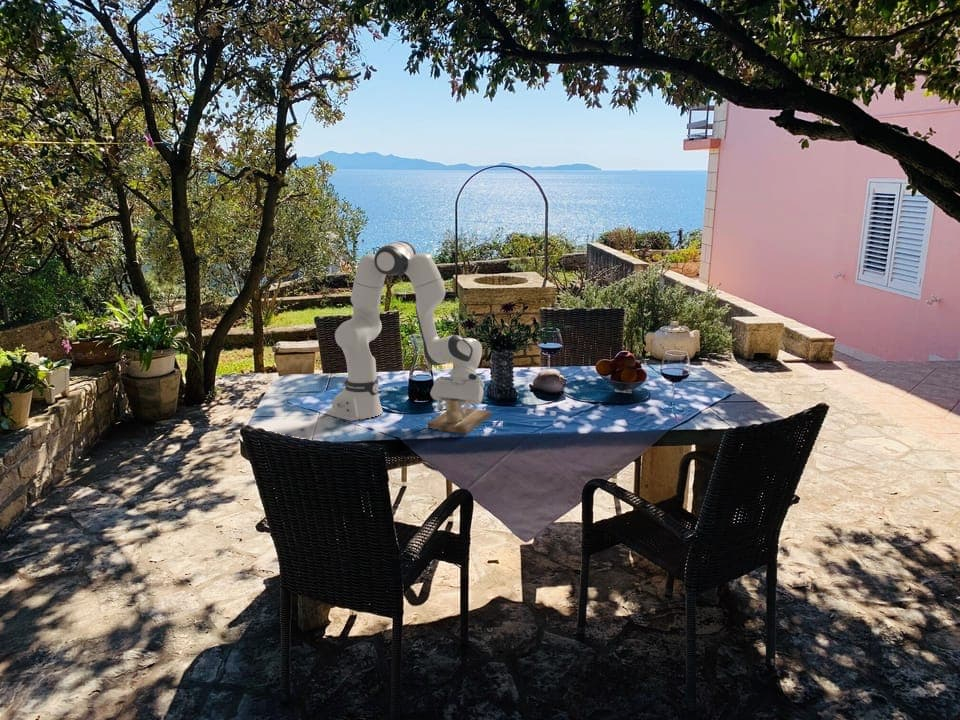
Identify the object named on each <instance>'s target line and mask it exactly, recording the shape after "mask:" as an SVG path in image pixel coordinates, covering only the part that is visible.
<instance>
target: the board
mask: <svg viewBox="0 0 960 720" xmlns="http://www.w3.org/2000/svg"><path fill="white" fill-rule="evenodd" d="M491 415H492V413H491V410H483V409H478V408H477V409H476V408H471V407H469V408H468V409H467V410H466V412H465V414H463V413H462V420H463V421H460V422H458V423H453V422H447V419H446V411H444V412H443V413H441V414H440V415H437V416H436V417H435V418H434V419H432V420H430V421H429V422H428V423H427V429H428V428H432V429H431V430H435V429H438V430H437V431H443V432H451V433H456V434H464V435H467V434H468V433H470V432H471V431H472V430H474V429H475V428H477V427H478V426H479V425H481V424H483V423H484V421H486V420H488V419H489V418H490V417H491Z"/></svg>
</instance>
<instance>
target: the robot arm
mask: <svg viewBox="0 0 960 720" xmlns="http://www.w3.org/2000/svg"><path fill="white" fill-rule="evenodd" d="M404 274H405V275H406V276H407V277H408V278H409V280H410V282H411V285H412V288H413V291H414V295H415V306H414V307H415V308H414V309H415V314H416V318H417V319H416V320H417V323H418V327H419V331H420V334H421V335H420V336H421V339H422V343H423V344H422V345H423V353H424V358H425V359H426V361H427V362H428V363H429V364H430V365H432V366H436V367H437V366H442V365H444V364H447V363H452V364H453V367H452V371H451V373H450V375H449V376H443V375H442V376H439V377H438V378H436V379H435V381H434V384H433V386H432V387H431V390H430V392H429V393H430V397H431V398H432V399H433V400H436V402H437V406H436V409H437V411H441V412H442V411H443V409H444V406H443V405H442V403H443V401H444V402H446V401H447V400H448V399H459V400H461V404H464V406H463V407H461V408H460V413H463V414H465V412H466V410H467V409H468V408H471V405H476V406H477V405H480V404H481V403H482V401H483V397H484V393H485V392H484V388H485V383H484V381H483V379H482V378H481V376H479V375H477V374H476V371H477V368H479V365H480V362H481V359H482V354H483V346H482V344H481V342H480V341H478V340H477V339H475V338H472V337H463V336H462V335H459V334H453V335H448V336H445V337H441V338H440V336H438V333H437V327H436V324H435V320H434V313H435V311H436V309H437V308H438V307H439V306H440V305H441V303H442V302H443V301H444V299H445V296H446V286H445V283H444V280H443V278H442V275H441V272H440V270H439V269H438V266H437V265H436V263H435V261H434V259H433V258H432V256H431V255H430V254H428V253H425V252H419V253H417V252H416V249H415V248H414V246H413V245H412V244H410V243H409V242H407V241H396V242H391V243H388V244H387V245H384V246H381V247H380V248H379V249H378V250H377V252H375V254H374V253H367V254H365V255H363V256H361V258H360V260H359V263H358V266H357V269H356V272H355V275H354V280H353V284H352V289H351V294H350V302H351V304H352V309H353V310H352V312H353V313H352V316H351V318H350V319H348V320H346V321H344V322H342V323H341V324H340V325H339V326H338V327H337V328H336V329H335V331H334V339H335V342H336V344H337V346H338V347H340V348H341V350H342V351H343V354H344V358H345V362H346V368H347V379H346V380H345V381H343V382H342V386H344V388H343V390H341V391H340V392H339V393H338V394H337V395H336V396H334V397H333V399H332V403H331V404H332V405H331V406H332V407H330V408H328V409H327V410H326V415H327V416H331V417H334V418H339V419H342V420H346V421H350V422H354V420H355V421H358V420H359V419H360V420H367V419H366V418H369V419H372V418H371V417H374V418H376V417H375V416H377V417H379V416H381V415H382V414H383V413H384V411H383V408H382V405H381V401H380V396H379V378H378V377H377V364H376V363H377V362H376V358H375V357H374V356H373V355H372V353H371V350H370V346H369V344H370V342H372V341H374V340H375V339H376V338H377V337H378V336H379V334H380V333H381V331H382V328H383V325H382V321H381V319H380V307H381V299H382V294H383V290H384V286H385V285H384V284H385V279H386V276H402V275H403V276H404ZM382 412H383V413H382ZM380 414H381V415H380ZM378 415H379V416H378Z"/></svg>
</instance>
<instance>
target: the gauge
mask: <svg viewBox="0 0 960 720" xmlns="http://www.w3.org/2000/svg"><path fill="white" fill-rule="evenodd" d="M462 404H463V403H461V400H459V399H448V400H447V401H445V409H446V410H445V412H446V419H447V422H453V423H458V422H460V421H463V420H462V413H460V408H461V407H462Z"/></svg>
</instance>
